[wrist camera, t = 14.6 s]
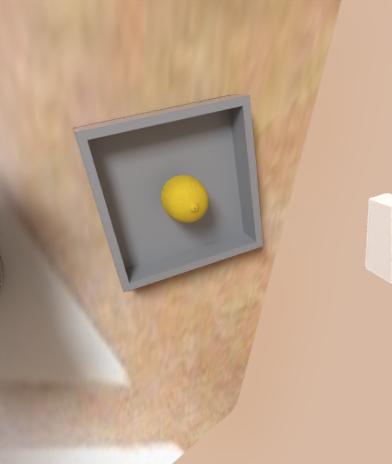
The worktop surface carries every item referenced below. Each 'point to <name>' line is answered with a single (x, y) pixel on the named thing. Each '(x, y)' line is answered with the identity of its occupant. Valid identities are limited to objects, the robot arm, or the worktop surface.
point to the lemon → (184, 198)
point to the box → (164, 168)
